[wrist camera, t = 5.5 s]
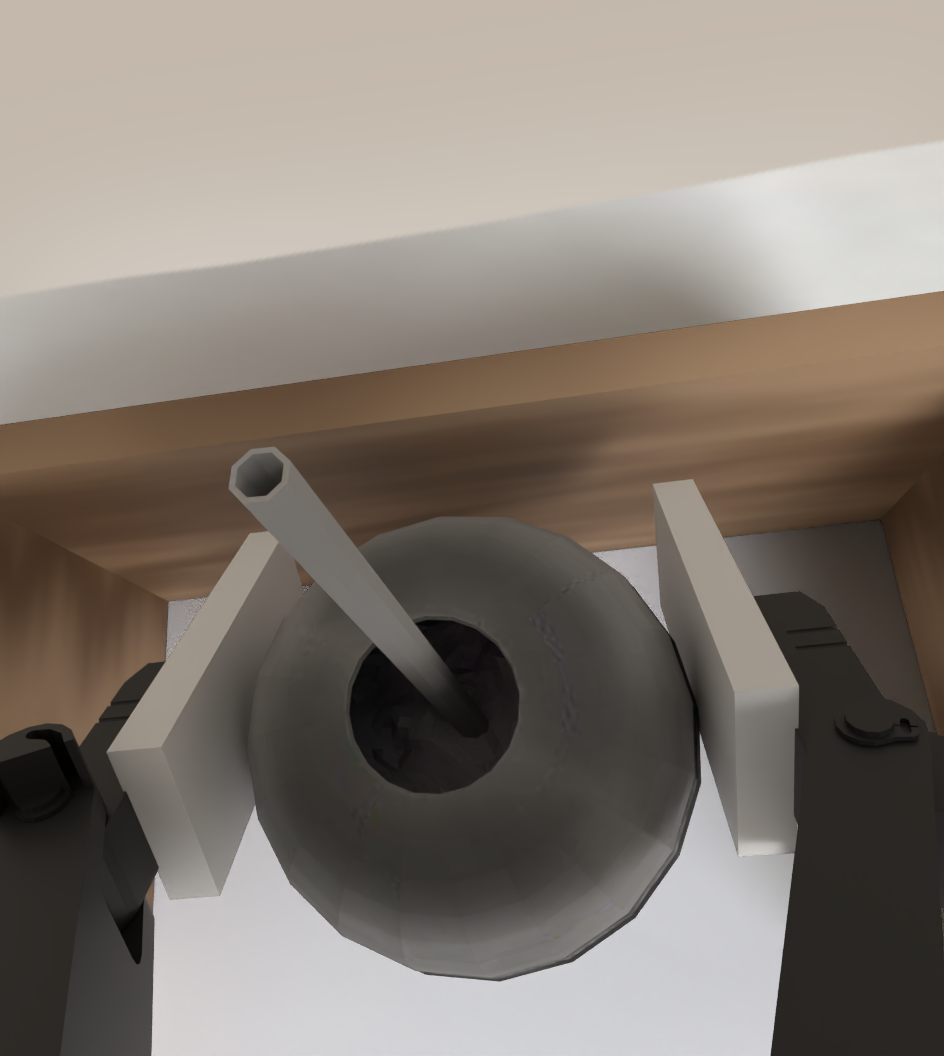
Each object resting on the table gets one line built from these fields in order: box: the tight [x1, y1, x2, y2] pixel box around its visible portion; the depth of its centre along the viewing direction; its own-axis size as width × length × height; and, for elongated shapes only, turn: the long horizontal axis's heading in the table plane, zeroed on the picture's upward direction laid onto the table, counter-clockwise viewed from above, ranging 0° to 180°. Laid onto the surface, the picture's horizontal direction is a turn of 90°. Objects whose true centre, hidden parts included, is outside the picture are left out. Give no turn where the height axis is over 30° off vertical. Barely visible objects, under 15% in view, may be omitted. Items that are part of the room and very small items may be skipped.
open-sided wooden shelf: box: [0, 291, 944, 913], centre depth 19 cm, size 18×25×10 cm
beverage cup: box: [229, 447, 701, 981], centre depth 15 cm, size 7×7×20 cm
